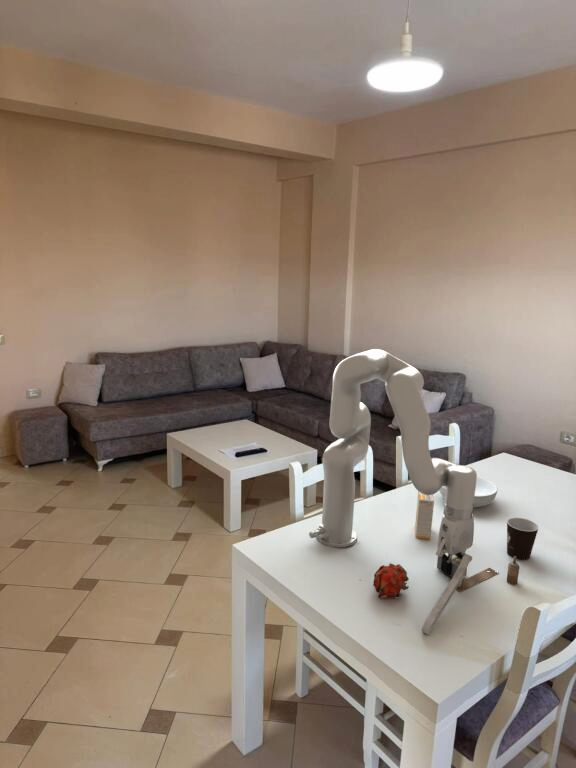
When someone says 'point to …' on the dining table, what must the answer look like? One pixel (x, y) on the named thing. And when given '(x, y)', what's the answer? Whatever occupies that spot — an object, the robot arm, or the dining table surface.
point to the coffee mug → (520, 537)
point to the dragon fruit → (390, 580)
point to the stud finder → (455, 564)
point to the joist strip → (476, 579)
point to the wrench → (446, 595)
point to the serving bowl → (480, 492)
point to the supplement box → (424, 516)
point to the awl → (513, 572)
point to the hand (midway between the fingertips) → (451, 570)
